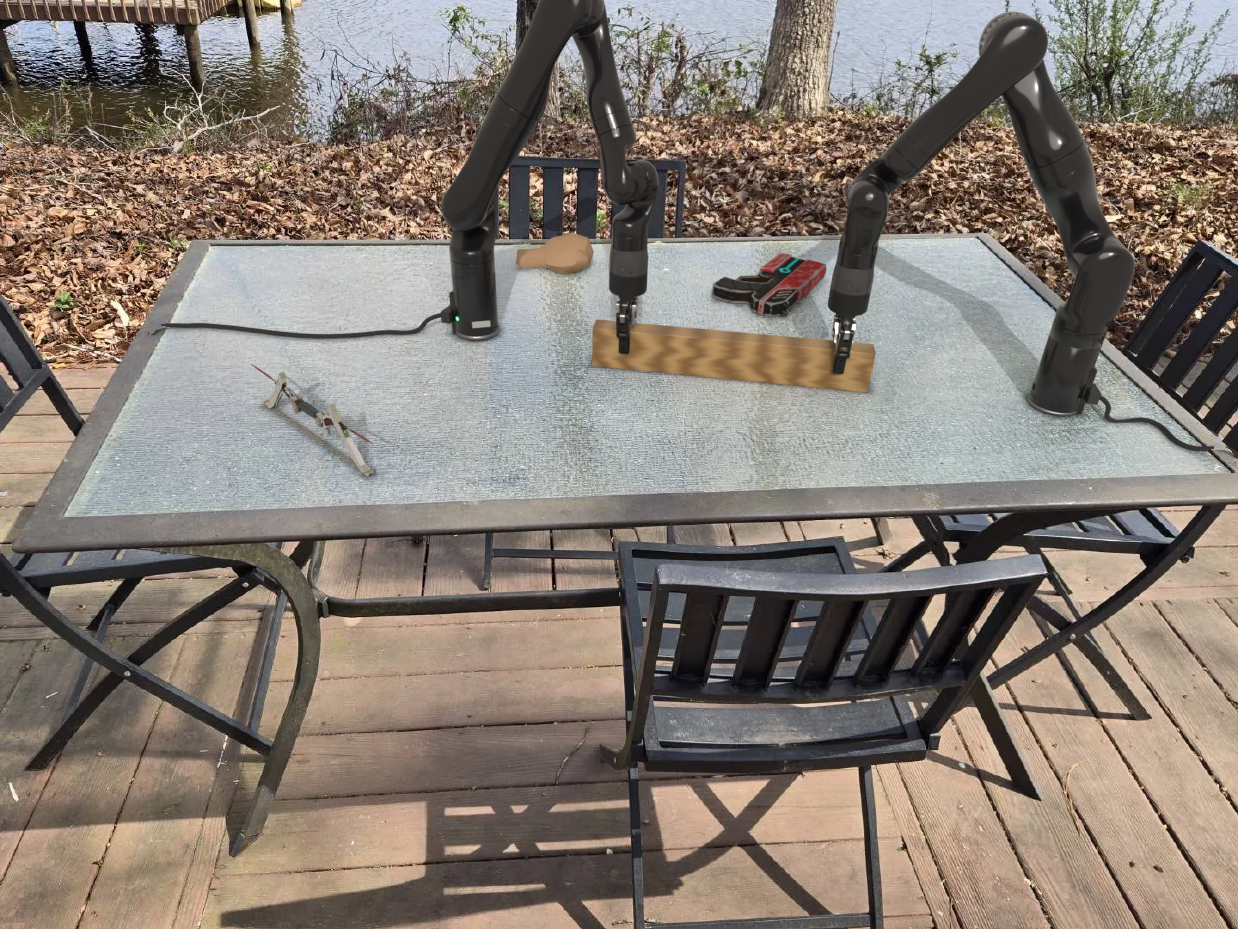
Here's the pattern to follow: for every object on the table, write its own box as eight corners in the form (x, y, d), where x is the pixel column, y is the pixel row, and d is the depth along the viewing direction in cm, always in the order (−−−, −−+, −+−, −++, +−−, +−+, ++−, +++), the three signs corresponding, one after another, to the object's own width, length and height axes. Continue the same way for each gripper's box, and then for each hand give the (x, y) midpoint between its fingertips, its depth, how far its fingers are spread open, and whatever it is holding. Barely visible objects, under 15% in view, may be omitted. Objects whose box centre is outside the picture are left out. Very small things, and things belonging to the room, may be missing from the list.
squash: (595, 277, 221) (590, 246, 215) (517, 285, 222) (510, 253, 216) (596, 255, 229) (591, 224, 223) (520, 262, 230) (514, 231, 224)
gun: (708, 284, 207) (784, 305, 199) (760, 245, 229) (831, 262, 221) (706, 302, 209) (781, 323, 201) (758, 261, 231) (828, 278, 223)
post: (592, 366, 181) (592, 328, 176) (595, 356, 184) (596, 319, 180) (867, 392, 174) (875, 353, 170) (865, 382, 178) (873, 343, 173)
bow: (384, 479, 145) (376, 427, 139) (374, 483, 144) (366, 432, 138) (264, 397, 166) (253, 350, 161) (255, 401, 165) (244, 353, 160)
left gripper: (642, 283, 164) (639, 365, 173) (652, 256, 176) (648, 334, 185) (603, 280, 165) (601, 361, 174) (615, 253, 177) (613, 331, 186)
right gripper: (874, 302, 159) (858, 383, 168) (868, 273, 171) (853, 350, 180) (832, 299, 160) (818, 379, 169) (829, 270, 172) (816, 346, 181)
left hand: (626, 347), depth 180 cm, fingers closed on post, 4 cm apart
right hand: (836, 364), depth 174 cm, fingers open, 7 cm apart
